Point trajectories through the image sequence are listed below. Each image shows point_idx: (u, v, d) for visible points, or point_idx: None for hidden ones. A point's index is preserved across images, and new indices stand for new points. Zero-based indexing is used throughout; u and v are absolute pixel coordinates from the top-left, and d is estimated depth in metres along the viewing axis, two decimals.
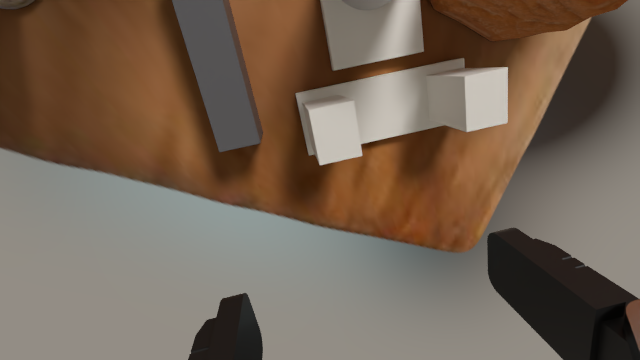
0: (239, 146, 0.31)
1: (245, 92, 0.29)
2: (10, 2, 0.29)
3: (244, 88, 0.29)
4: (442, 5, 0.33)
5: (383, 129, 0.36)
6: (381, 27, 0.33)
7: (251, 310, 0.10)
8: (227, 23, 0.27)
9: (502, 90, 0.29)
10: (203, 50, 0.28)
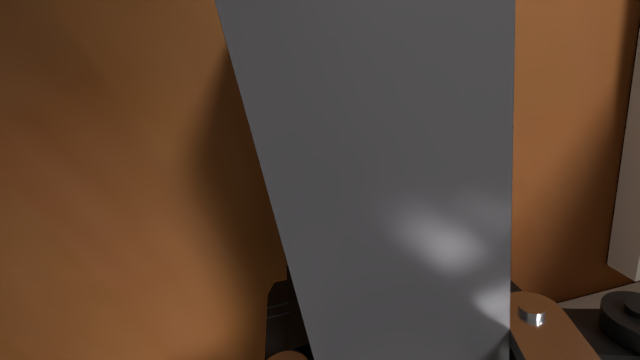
0: None
1: None
2: None
3: None
4: None
5: None
6: None
7: None
8: (505, 312, 0.06)
9: None
10: None
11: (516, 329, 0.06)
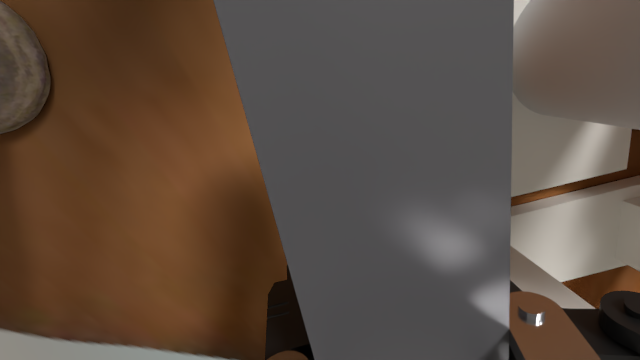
0: None
1: None
2: None
3: None
4: None
5: (549, 273, 0.25)
6: (572, 138, 0.21)
7: None
8: (505, 311, 0.06)
9: None
10: None
11: (516, 329, 0.06)
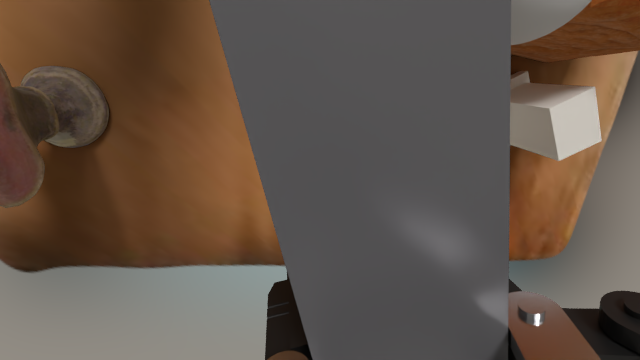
0: None
1: None
2: (85, 140, 0.30)
3: None
4: None
5: None
6: None
7: None
8: (504, 312, 0.06)
9: (592, 111, 0.27)
10: None
11: (516, 329, 0.06)
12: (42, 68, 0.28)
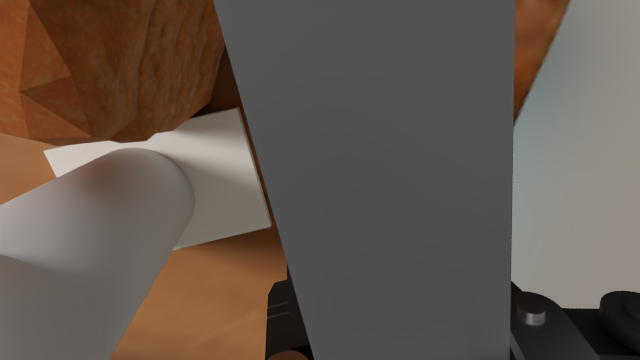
0: None
1: None
2: None
3: None
4: (204, 100, 0.22)
5: None
6: (212, 173, 0.25)
7: None
8: (505, 314, 0.06)
9: None
10: None
11: (516, 329, 0.06)
12: None
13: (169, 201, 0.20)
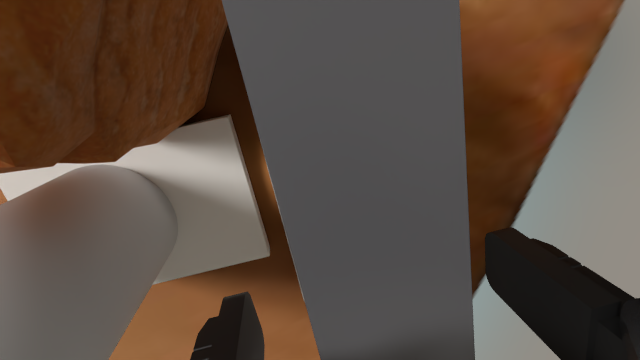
0: None
1: None
2: None
3: None
4: (196, 105, 0.18)
5: None
6: (198, 194, 0.20)
7: (253, 309, 0.10)
8: (467, 274, 0.08)
9: None
10: (373, 352, 0.08)
11: (637, 333, 0.06)
12: None
13: (141, 235, 0.16)
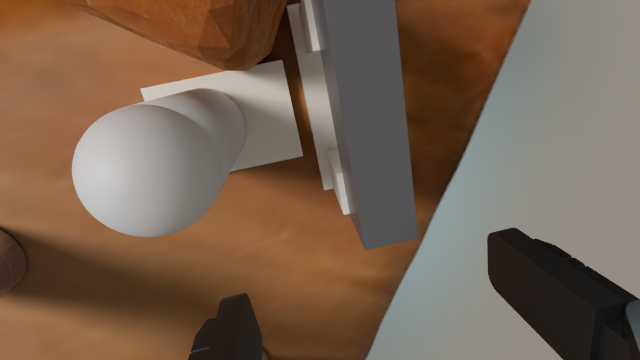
0: (391, 242, 0.23)
1: (410, 177, 0.22)
2: None
3: (409, 172, 0.21)
4: (269, 49, 0.30)
5: None
6: (261, 110, 0.33)
7: (251, 310, 0.10)
8: (402, 90, 0.20)
9: None
10: (365, 126, 0.20)
11: None
12: None
13: (237, 121, 0.28)
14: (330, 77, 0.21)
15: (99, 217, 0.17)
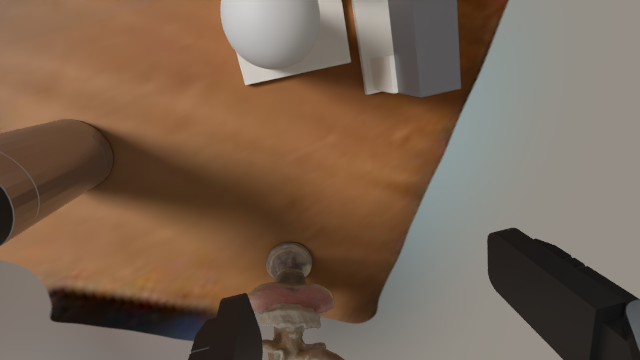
0: (440, 91, 0.30)
1: (457, 33, 0.28)
2: (309, 260, 0.51)
3: (456, 29, 0.28)
4: None
5: None
6: None
7: (251, 310, 0.10)
8: None
9: None
10: None
11: None
12: (267, 265, 0.50)
13: None
14: None
15: (246, 33, 0.23)
